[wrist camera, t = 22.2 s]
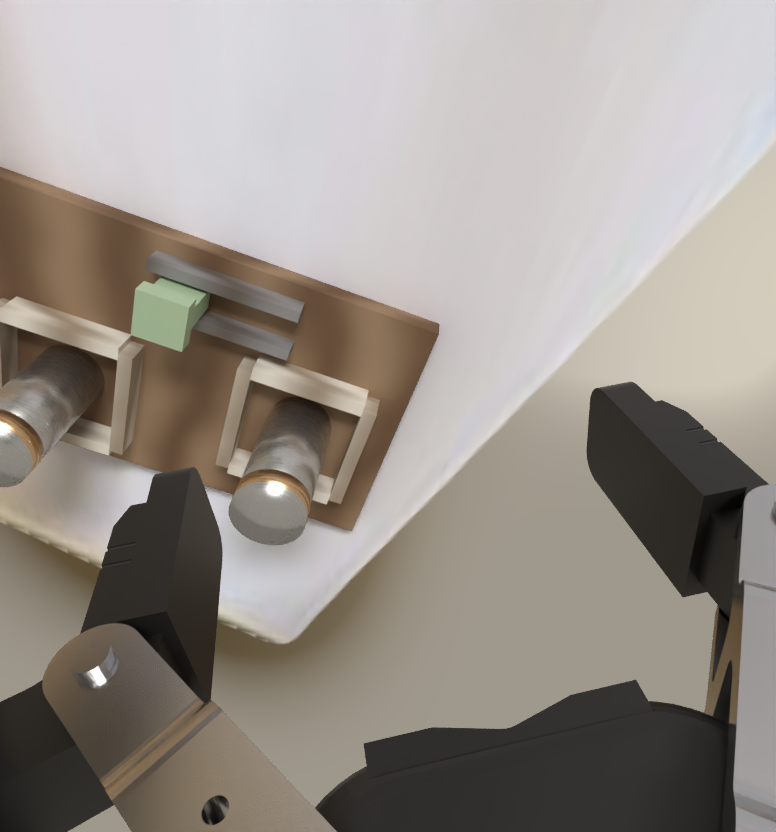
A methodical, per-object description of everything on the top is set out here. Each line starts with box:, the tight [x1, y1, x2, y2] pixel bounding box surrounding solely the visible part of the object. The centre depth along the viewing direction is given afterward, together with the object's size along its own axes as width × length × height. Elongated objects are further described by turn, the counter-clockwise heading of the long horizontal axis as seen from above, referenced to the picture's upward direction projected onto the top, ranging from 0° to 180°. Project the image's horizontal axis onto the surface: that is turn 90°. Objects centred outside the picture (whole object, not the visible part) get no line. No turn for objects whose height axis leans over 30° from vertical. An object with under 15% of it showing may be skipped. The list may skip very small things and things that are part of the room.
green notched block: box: [131, 276, 211, 352], centre depth 39 cm, size 3×3×5 cm
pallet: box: [0, 167, 439, 531], centre depth 45 cm, size 30×20×4 cm, turn 71°
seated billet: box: [0, 345, 104, 487], centre depth 41 cm, size 5×5×10 cm
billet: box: [229, 397, 331, 545], centre depth 42 cm, size 5×5×10 cm
